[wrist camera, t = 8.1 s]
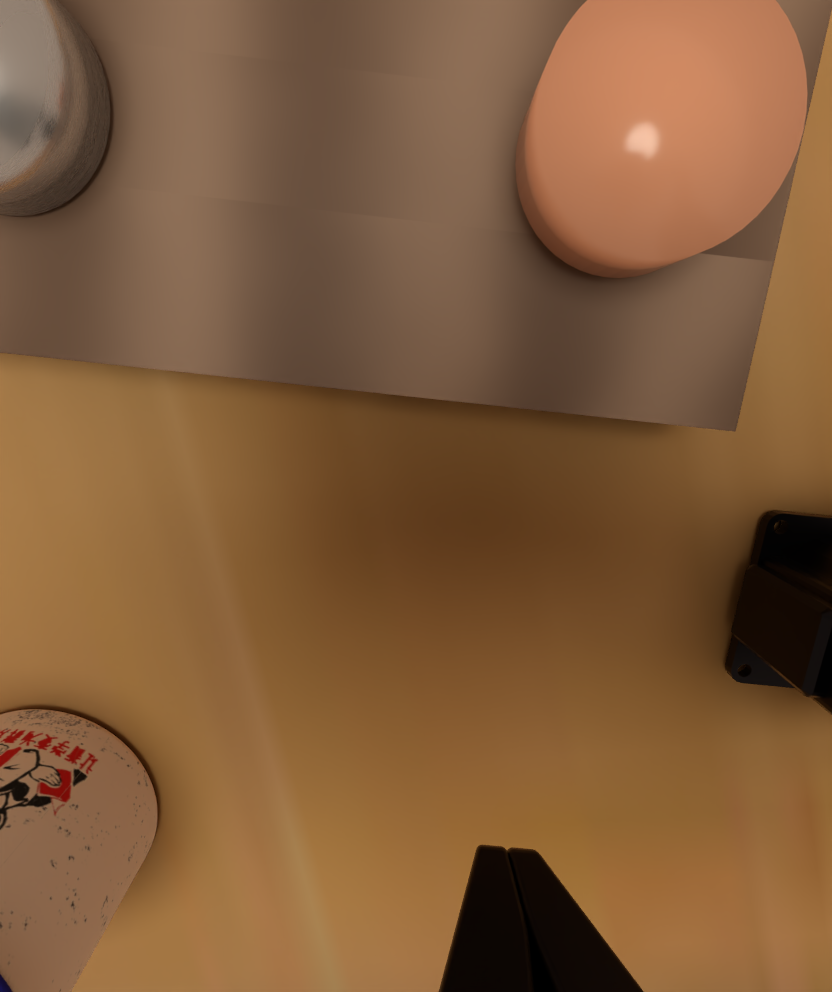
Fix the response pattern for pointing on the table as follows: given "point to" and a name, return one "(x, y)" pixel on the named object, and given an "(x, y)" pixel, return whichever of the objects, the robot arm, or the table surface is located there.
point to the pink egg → (659, 130)
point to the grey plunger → (47, 107)
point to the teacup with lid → (64, 843)
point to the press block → (364, 218)
